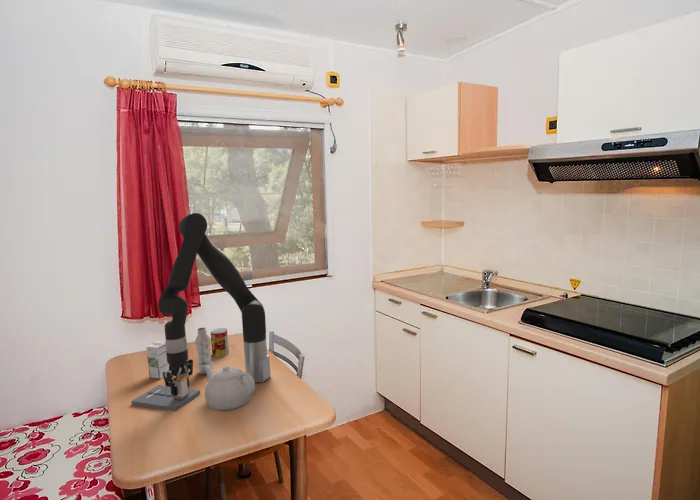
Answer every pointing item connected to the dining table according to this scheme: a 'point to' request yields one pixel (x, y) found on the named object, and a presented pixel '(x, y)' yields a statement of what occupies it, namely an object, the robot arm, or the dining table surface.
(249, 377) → the teapot
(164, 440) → the dining table surface
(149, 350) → the syrup box
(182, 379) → the fader knob
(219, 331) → the canned food
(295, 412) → the dining table surface
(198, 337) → the plastic bottle
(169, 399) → the console
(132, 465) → the dining table surface
